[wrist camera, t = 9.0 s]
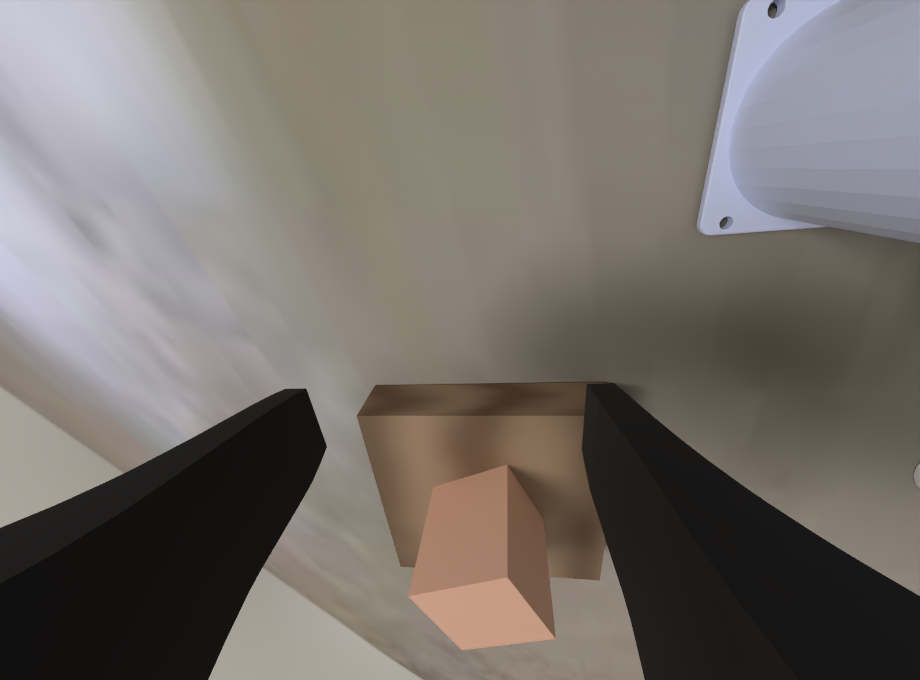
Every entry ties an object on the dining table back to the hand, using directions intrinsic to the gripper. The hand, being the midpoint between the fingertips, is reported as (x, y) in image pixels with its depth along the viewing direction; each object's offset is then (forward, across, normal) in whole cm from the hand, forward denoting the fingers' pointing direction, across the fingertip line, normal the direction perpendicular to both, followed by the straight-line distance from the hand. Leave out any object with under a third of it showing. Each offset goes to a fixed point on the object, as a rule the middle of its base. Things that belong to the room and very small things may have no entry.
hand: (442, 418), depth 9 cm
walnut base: (+10, 0, +13) cm, 17 cm away
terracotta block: (+7, 0, +13) cm, 15 cm away
